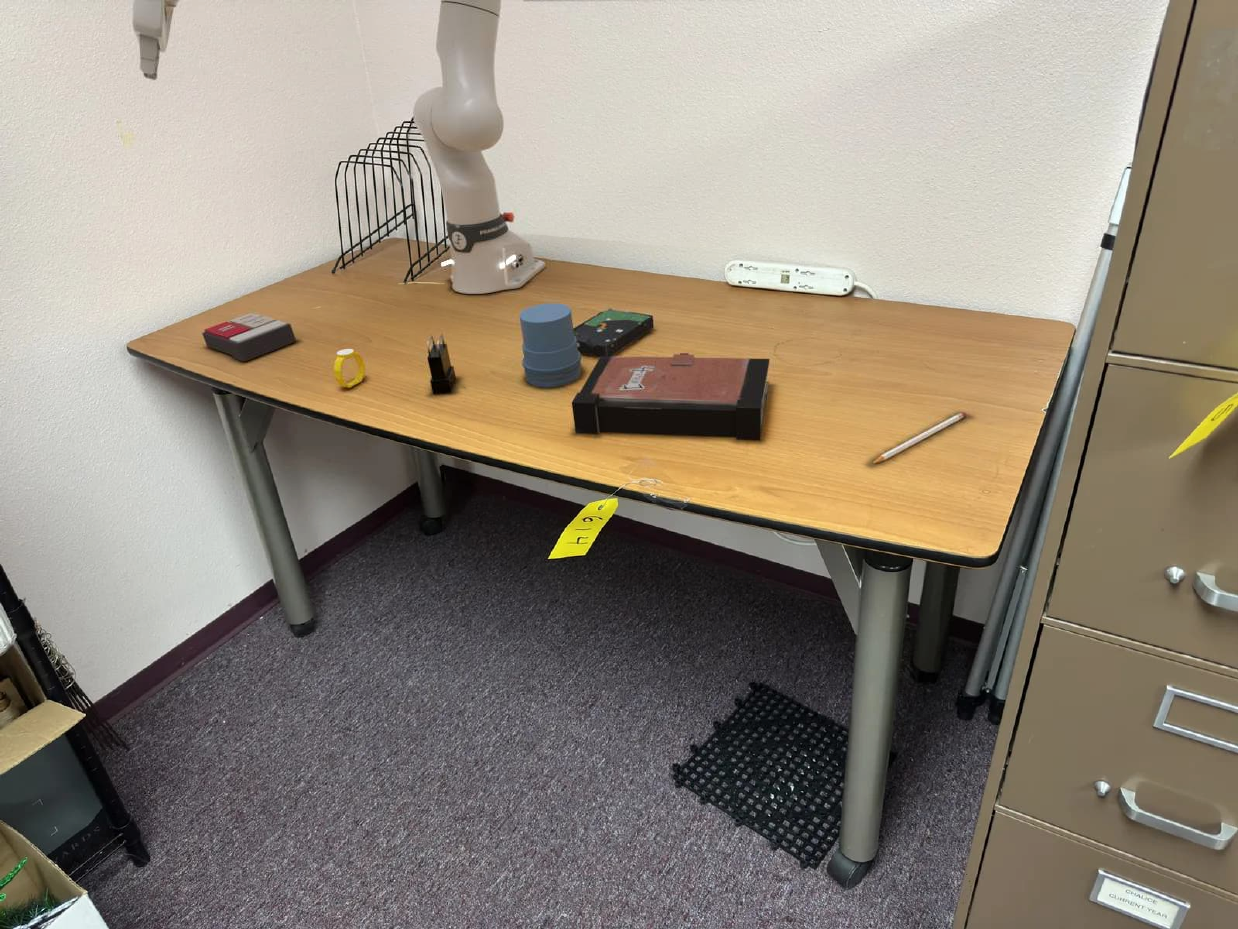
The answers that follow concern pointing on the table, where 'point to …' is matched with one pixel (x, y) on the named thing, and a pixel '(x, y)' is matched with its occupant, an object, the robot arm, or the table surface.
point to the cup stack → (549, 345)
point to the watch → (338, 365)
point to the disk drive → (611, 332)
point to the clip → (440, 367)
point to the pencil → (920, 437)
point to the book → (674, 397)
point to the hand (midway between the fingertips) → (148, 75)
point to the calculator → (249, 336)
